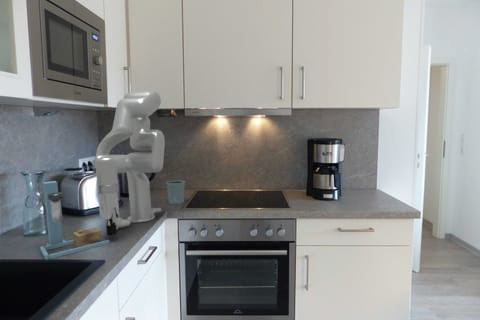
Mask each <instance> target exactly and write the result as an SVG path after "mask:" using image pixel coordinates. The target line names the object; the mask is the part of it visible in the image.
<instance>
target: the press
mask: <svg viewBox="0 0 480 320" xmlns="http://www.w3.org/2000/svg"><path fill="white" fill-rule="evenodd" d="M42 189H43V198H44V207H45V213H46V214H45V215H46V224H47V234H48V242H47V243H45V244H46V245H45V246H43V245H41V246H40V253H41V254H42V256H43V258H44V260H45V261H47V260H50V259H54V258H59V257H62V256H67V255H71V254H73V253H77V252H78V253H79V252H83V251H86V250H90V249H95V248H98V247H101V246H105V245H110V240H109V239H107V240H102V242H98V243H94V244H90V245H86V246H82V247H78V248H77V247H74V248H70V249H66V250H65V249H64V250H62V251H58V252H54V253H50V254H49V253H48V252H47V251H49V250H52V249H56V248H62V247H65V246H71V245H74V239H72V240H71V239H70V240H65V239H64V235H63V229H62V228H63V226H62V220H61V221H58V222H53V219H52V209H51V200H48V196H47V195H48V194H51V193H59V187H58V181H56V180H53V181H45V182H44V181H43V182H42Z"/></svg>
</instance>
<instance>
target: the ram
mask: <svg viewBox="0 0 480 320" xmlns="http://www.w3.org/2000/svg"><path fill="white" fill-rule="evenodd" d="M47 196H48V200H51V209H52V219H53V222H58V221H61V222H62V221H63V213H62V202H61V201H62V200H61V199H63V196H64V195H63V192H58V193H51V194H48V195H47Z"/></svg>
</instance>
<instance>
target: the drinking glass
mask: <svg viewBox="0 0 480 320" xmlns="http://www.w3.org/2000/svg"><path fill="white" fill-rule="evenodd" d="M185 183H186V181H185V180H181V179H180V180H169V181H167V182H166V188H167V197H168V198H167V199H168V204H169V205H180V204H181V205H182V204H184V202H185V188H186V187H185V186H186V184H185Z"/></svg>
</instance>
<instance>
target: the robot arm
mask: <svg viewBox="0 0 480 320" xmlns="http://www.w3.org/2000/svg"><path fill="white" fill-rule="evenodd" d="M161 103H162V100H161V95H160V93H158V91H156V90H146V91H145V90H143V91H130V92H127V93H126V94H124V96H123V98H122V99H119V100H118V102H117V103H116V108H115V114H114V119H113V123H112V129H111V131H110V132H108V133H107V134H106V135H105V137H103V139H102V140H101V141H100V143H99V145H98V146H97V148H96V152H95V153H96V154H95V159H94V166H95V172H96V173H95V175H96V176H95V177H96V185H97V186H96V187H97V188H96V189H97V194H98V198H99V199H98V205H99V207H98V210H99V216H100V217H101V218H103V219H104V220H105V225H106V235H107V236H109V237H111V236H115V235H117V230H116V222H117V218H119V217H120V203H119V197H118V193H119V192H120V191H119V189H120V188H119V178H118V176H119V175H118V174H125V173H126V177H127V187H128V199H129V213H130V216H128V217H127V218H126V219H128V220H129V221H130V222H131V223H145V222H150V221H152V220H154V219H156V215H155V214H156V213H161V212H162V208H161V207H158V208H156V207H152V201H151V190H150V189H151V188H150V187H151V185H150V184H151V183H150V180H149V177H148V176H147V174H149V173H153V174H154V173H159V172H161V171H162V170H163V167H164V160H165V159H164V156H165V145H166V144H165V136H164V133H163V132H162V131H161V130H160V129H151V120H150V118H149V117H150V116H151V115H152V114H153V113H155V112H156V111H157V110H158V109H159V108H160V107H161ZM128 139H129V145H130V148H131V149H133V150H134V151H136V152H131V153H128V154H110V152H111V150H112V149H113V148H114V147H115V146H116V145H118V144H119V143H122V142H123V141H126V140H128ZM137 151H138V152H137ZM141 151H142V152H141ZM143 151H144V152H143ZM145 151H146V152H145Z"/></svg>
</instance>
